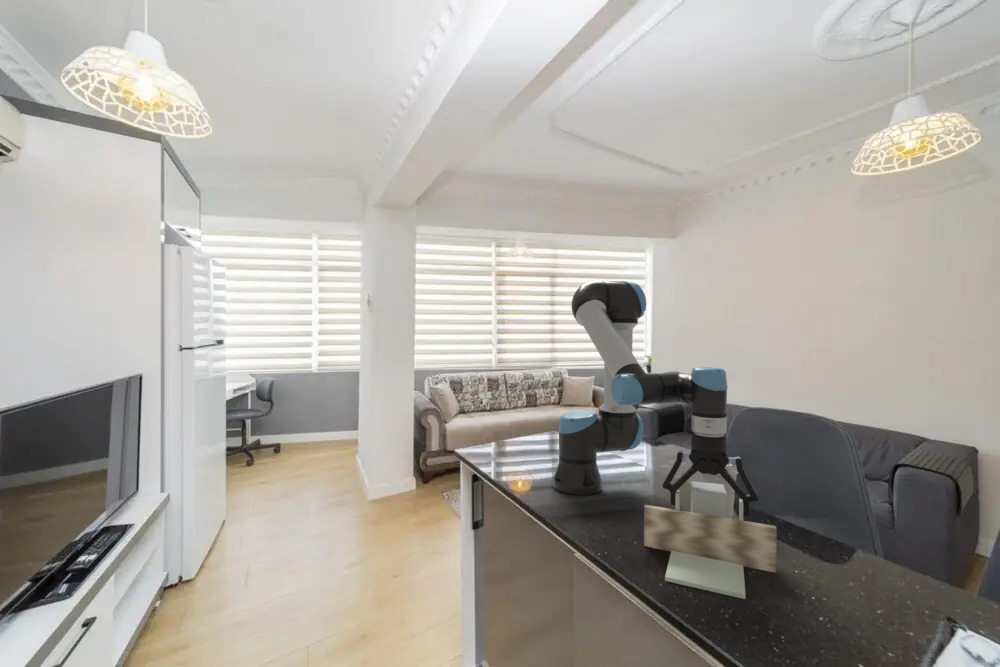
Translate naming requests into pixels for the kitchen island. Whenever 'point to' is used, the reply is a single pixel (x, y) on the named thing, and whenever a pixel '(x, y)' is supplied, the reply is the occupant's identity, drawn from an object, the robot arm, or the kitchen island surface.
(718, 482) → the coffee cup
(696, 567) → the sage pad
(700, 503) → the supplement box
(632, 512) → the kitchen island surface
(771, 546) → the wooden screen
